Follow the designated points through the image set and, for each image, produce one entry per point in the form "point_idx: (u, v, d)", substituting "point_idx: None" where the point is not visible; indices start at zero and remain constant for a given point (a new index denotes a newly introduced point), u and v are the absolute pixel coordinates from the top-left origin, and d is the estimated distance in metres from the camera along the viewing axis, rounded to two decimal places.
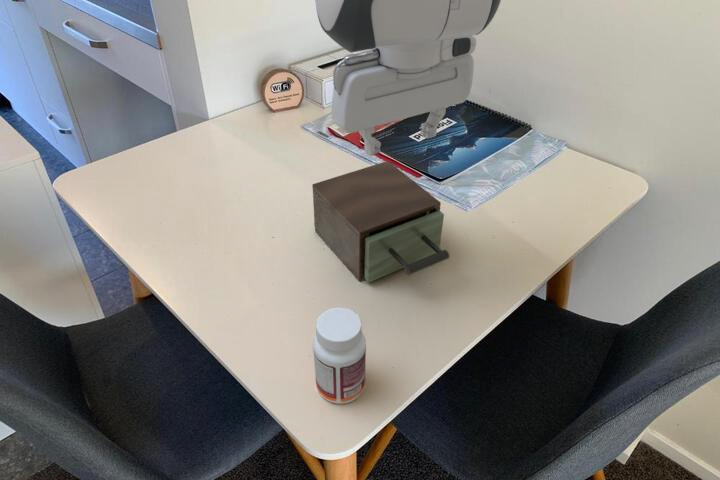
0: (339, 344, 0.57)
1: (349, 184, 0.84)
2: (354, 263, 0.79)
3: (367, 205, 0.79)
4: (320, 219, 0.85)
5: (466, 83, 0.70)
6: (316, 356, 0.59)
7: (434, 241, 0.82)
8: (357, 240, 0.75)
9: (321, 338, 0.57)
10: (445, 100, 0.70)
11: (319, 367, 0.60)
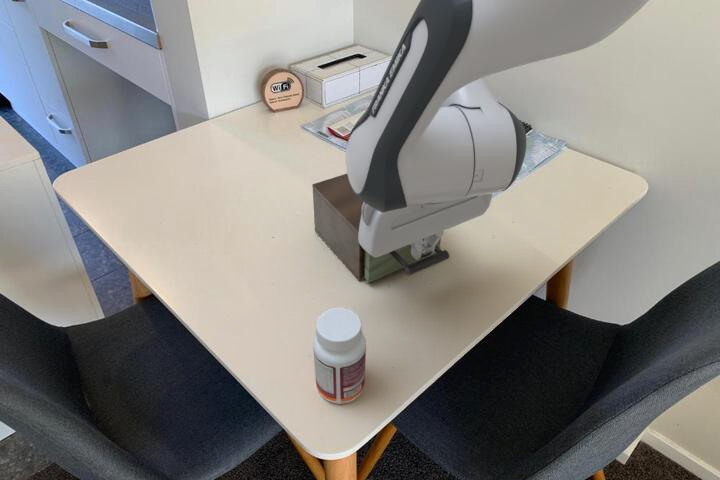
0: (339, 344, 0.57)
1: (349, 184, 0.84)
2: (354, 263, 0.79)
3: None
4: (320, 219, 0.85)
5: (486, 200, 0.73)
6: (316, 356, 0.59)
7: None
8: (357, 240, 0.75)
9: (321, 338, 0.57)
10: (466, 216, 0.73)
11: (319, 367, 0.60)
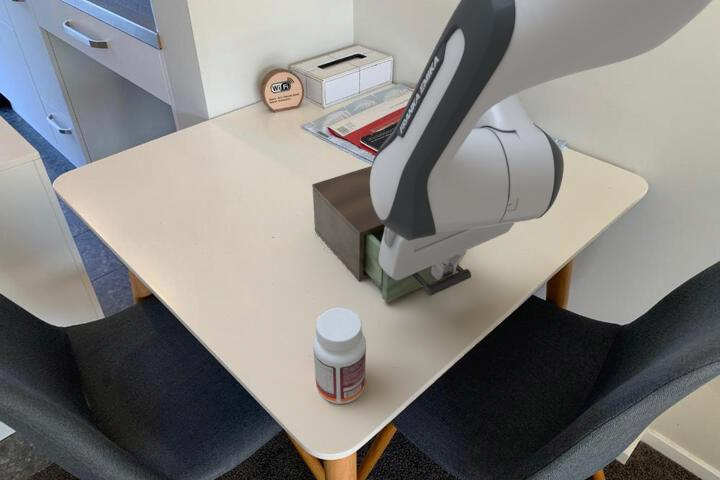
0: (339, 344, 0.57)
1: (349, 184, 0.84)
2: (354, 263, 0.79)
3: (367, 205, 0.79)
4: (320, 219, 0.85)
5: None
6: (316, 356, 0.59)
7: None
8: (357, 240, 0.75)
9: (321, 338, 0.57)
10: (490, 235, 0.69)
11: (319, 367, 0.60)
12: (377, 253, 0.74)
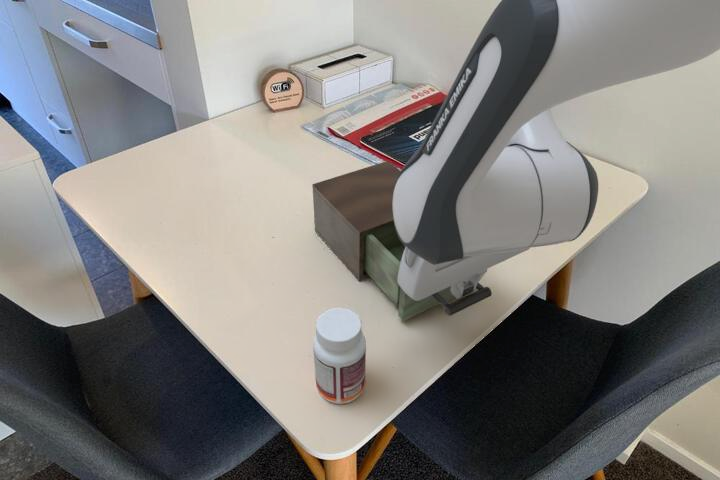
0: (339, 344, 0.57)
1: (349, 184, 0.84)
2: (354, 263, 0.79)
3: (367, 205, 0.79)
4: (320, 219, 0.85)
5: None
6: (316, 356, 0.59)
7: None
8: (357, 240, 0.75)
9: (321, 338, 0.57)
10: (512, 252, 0.67)
11: (319, 367, 0.60)
12: (394, 269, 0.71)
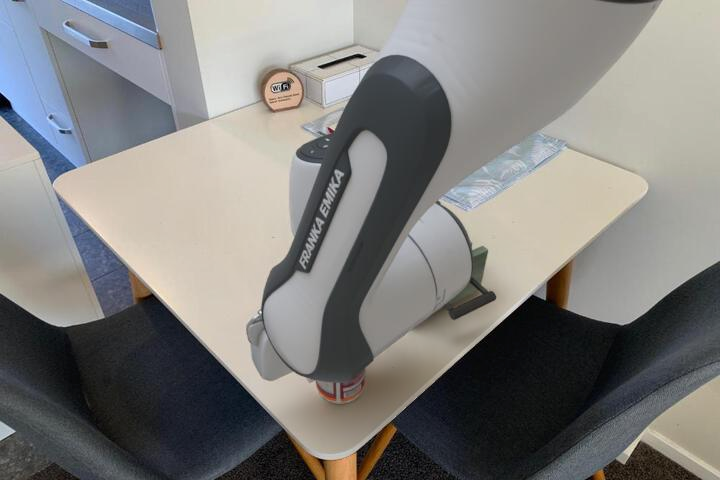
0: None
1: None
2: None
3: None
4: None
5: None
6: None
7: (476, 278, 0.75)
8: None
9: None
10: None
11: None
12: None
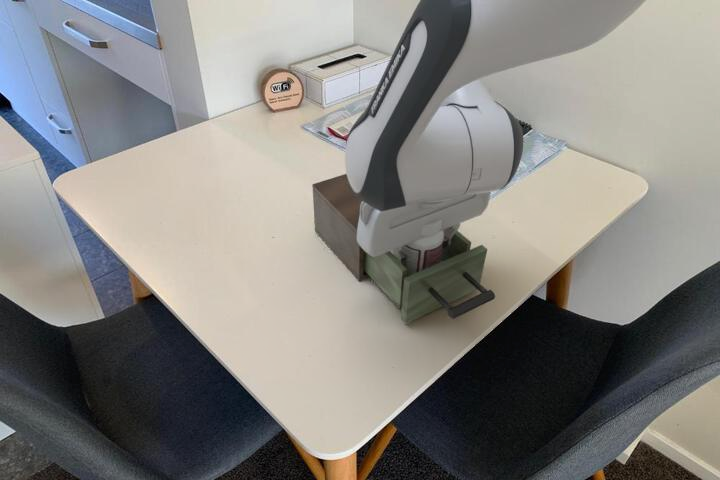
0: (426, 228, 0.69)
1: None
2: (354, 263, 0.79)
3: None
4: (320, 219, 0.85)
5: (484, 200, 0.73)
6: None
7: (475, 277, 0.75)
8: None
9: None
10: (464, 216, 0.73)
11: (406, 252, 0.73)
12: (397, 272, 0.71)
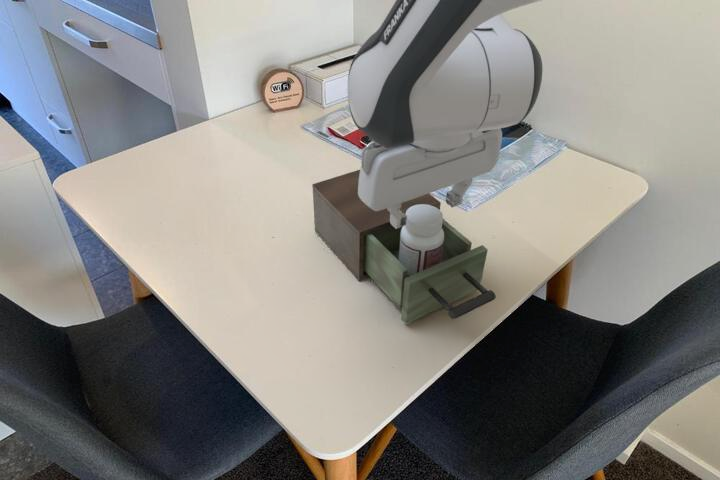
0: (427, 228, 0.69)
1: (349, 184, 0.84)
2: (354, 263, 0.79)
3: None
4: (320, 219, 0.85)
5: (494, 154, 0.68)
6: (404, 243, 0.72)
7: (476, 278, 0.75)
8: (357, 240, 0.75)
9: (411, 225, 0.70)
10: (472, 171, 0.68)
11: (406, 252, 0.73)
12: (397, 273, 0.71)
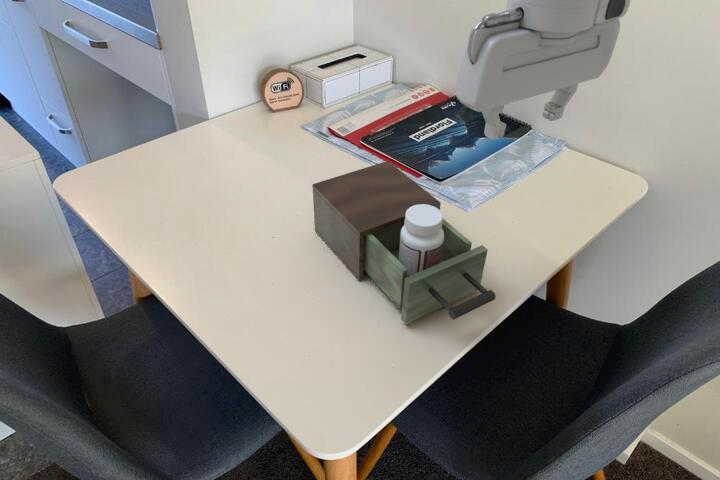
0: (427, 228, 0.69)
1: (349, 184, 0.84)
2: (354, 263, 0.79)
3: (367, 205, 0.79)
4: (320, 219, 0.85)
5: (606, 54, 0.59)
6: (404, 243, 0.72)
7: (476, 278, 0.75)
8: (357, 240, 0.75)
9: (411, 225, 0.70)
10: (581, 74, 0.59)
11: (406, 252, 0.73)
12: (397, 273, 0.71)
